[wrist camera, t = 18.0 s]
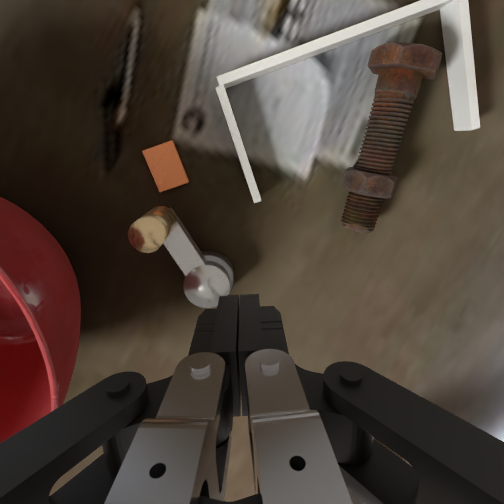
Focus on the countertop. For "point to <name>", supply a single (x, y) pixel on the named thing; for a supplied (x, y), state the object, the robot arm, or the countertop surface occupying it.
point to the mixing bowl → (34, 321)
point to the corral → (453, 27)
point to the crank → (181, 255)
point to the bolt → (385, 128)
